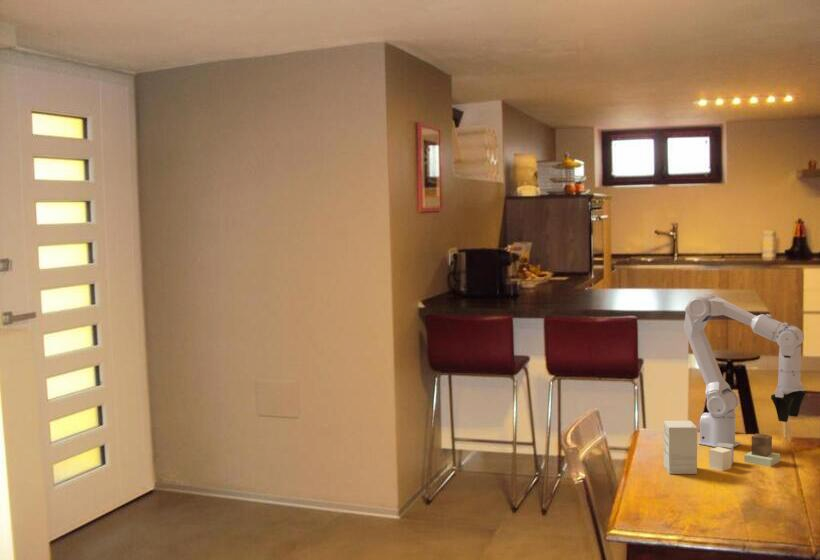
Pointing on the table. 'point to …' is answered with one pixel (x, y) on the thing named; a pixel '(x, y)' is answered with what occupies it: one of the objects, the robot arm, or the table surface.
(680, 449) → the supplement box
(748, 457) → the sage slab
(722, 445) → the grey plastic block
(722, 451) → the cream block
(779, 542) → the table surface
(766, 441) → the walnut block
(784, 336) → the robot arm
